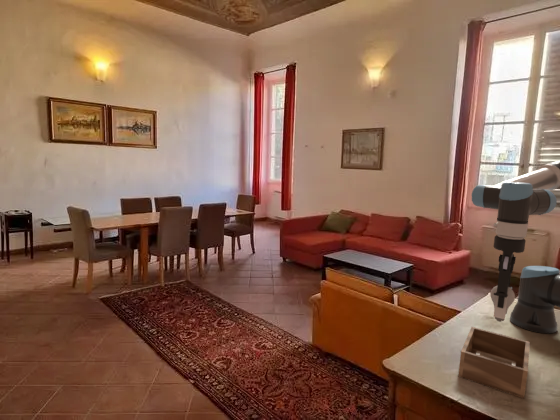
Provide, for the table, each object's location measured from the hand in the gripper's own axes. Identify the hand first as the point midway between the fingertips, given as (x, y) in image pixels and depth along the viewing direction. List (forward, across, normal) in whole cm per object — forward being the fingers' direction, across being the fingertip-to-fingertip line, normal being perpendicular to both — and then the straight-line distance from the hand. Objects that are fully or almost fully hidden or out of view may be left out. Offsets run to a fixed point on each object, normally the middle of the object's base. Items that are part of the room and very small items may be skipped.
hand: (500, 313), depth 107 cm
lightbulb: (+3, 0, 0) cm, 3 cm away
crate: (+18, 0, 0) cm, 18 cm away
